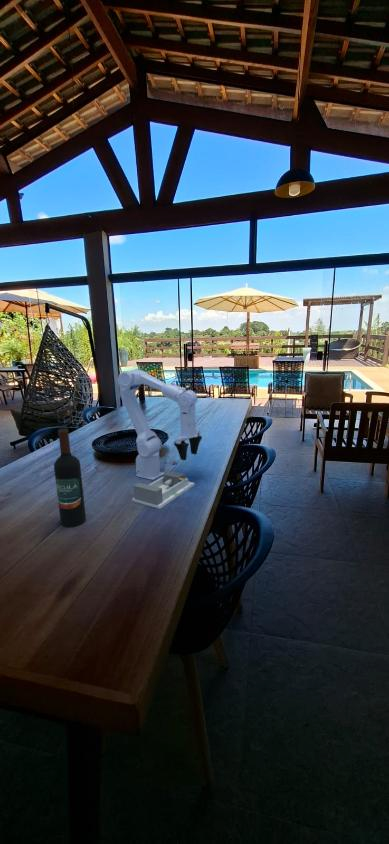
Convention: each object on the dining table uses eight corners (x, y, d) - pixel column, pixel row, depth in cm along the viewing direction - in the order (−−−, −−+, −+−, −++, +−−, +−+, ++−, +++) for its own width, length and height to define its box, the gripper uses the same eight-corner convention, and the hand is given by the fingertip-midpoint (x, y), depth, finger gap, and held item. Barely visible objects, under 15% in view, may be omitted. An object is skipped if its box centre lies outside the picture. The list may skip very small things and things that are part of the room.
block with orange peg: (158, 486, 137) (158, 476, 136) (169, 480, 143) (169, 470, 142) (179, 492, 132) (179, 481, 131) (190, 485, 138) (189, 475, 137)
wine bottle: (90, 517, 118) (81, 427, 111) (76, 528, 111) (65, 433, 104) (71, 514, 120) (60, 425, 113) (55, 525, 113) (43, 432, 106)
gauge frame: (132, 501, 129) (131, 485, 127) (169, 479, 147) (168, 465, 145) (159, 508, 122) (158, 492, 121) (194, 485, 140) (194, 470, 139)
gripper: (186, 428, 131) (187, 464, 134) (206, 419, 143) (207, 453, 146) (170, 426, 134) (171, 460, 138) (191, 417, 146) (192, 450, 149)
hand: (188, 456), depth 142 cm, fingers open, 7 cm apart
